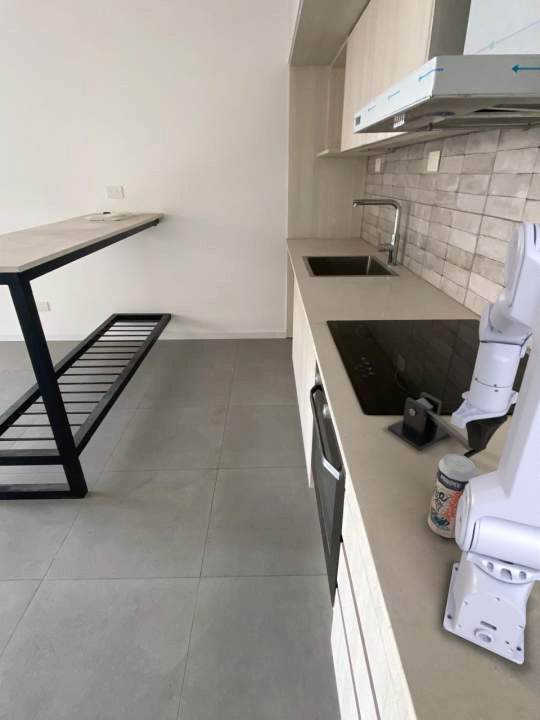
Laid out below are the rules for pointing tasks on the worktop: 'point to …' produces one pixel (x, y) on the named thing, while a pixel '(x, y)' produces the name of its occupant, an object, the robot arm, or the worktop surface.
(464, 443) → the lever
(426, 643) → the worktop surface
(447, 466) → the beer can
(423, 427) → the bracket
